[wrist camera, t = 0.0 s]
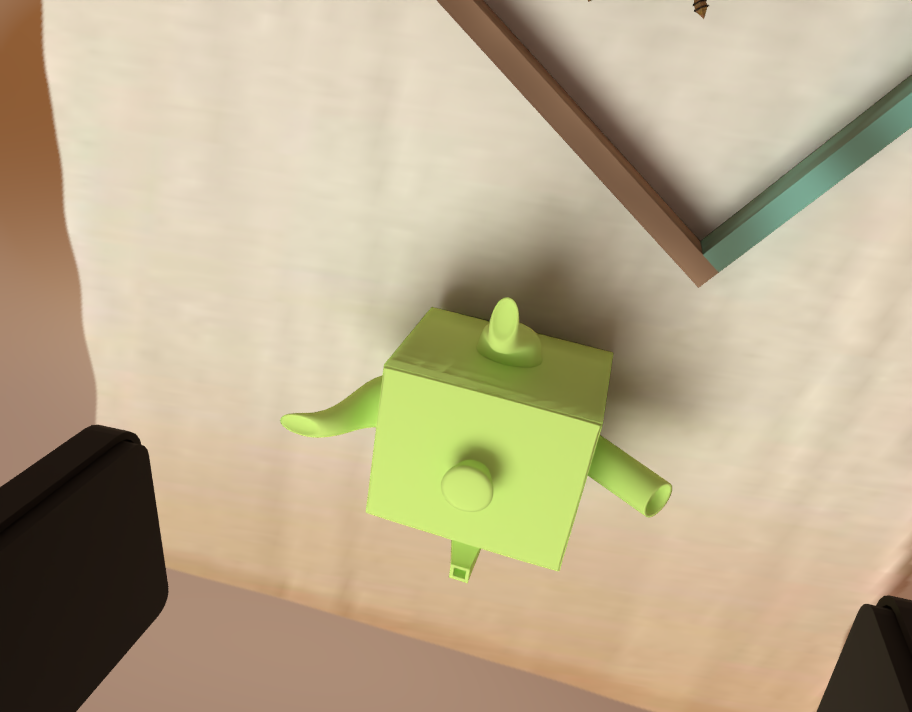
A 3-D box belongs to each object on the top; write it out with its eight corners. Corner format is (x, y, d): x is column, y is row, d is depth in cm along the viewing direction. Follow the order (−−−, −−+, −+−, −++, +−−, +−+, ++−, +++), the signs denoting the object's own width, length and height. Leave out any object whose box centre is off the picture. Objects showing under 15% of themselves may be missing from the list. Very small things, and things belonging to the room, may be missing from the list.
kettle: (351, 345, 45) (264, 433, 35) (532, 220, 39) (488, 284, 29) (489, 519, 48) (444, 646, 38) (678, 429, 42) (684, 552, 32)
